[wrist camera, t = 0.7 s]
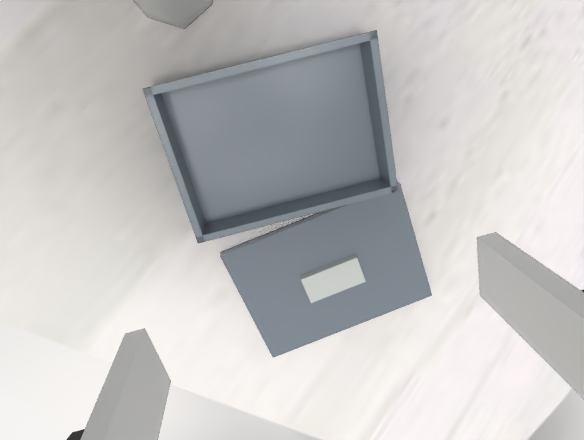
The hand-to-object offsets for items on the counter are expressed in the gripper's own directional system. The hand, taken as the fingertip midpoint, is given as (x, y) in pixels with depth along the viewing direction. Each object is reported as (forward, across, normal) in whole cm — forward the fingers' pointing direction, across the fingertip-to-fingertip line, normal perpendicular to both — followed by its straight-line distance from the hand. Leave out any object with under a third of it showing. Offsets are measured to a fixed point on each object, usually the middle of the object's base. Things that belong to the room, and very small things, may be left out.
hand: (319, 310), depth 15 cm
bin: (+23, +1, +2) cm, 23 cm away
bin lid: (+22, +3, -13) cm, 26 cm away
